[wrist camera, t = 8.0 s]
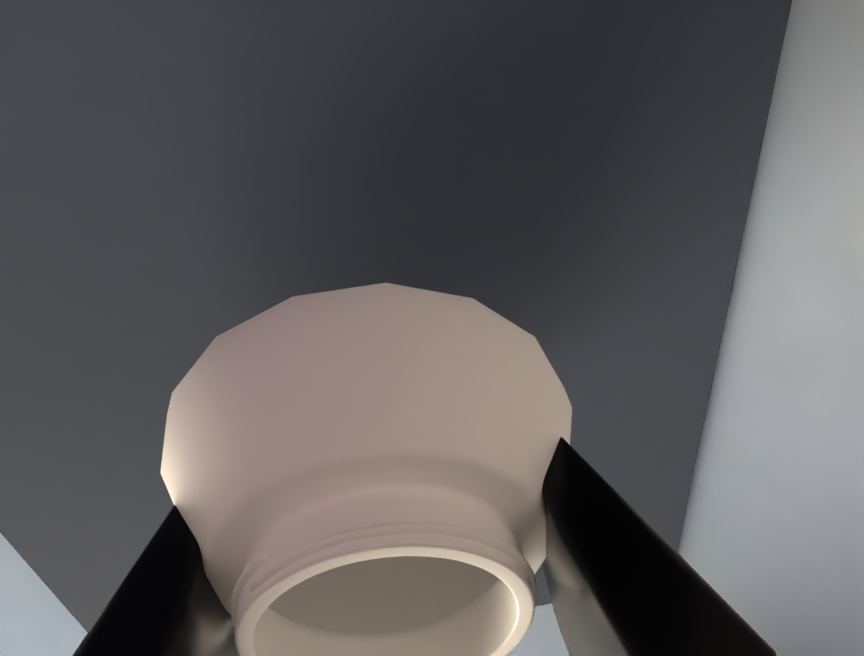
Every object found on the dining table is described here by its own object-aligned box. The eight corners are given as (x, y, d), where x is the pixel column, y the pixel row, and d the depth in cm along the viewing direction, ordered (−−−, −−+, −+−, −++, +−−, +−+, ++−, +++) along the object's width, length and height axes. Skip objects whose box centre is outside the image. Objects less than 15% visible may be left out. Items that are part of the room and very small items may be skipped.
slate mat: (668, 576, 16) (670, 581, 16) (130, 675, 15) (129, 680, 15) (894, -537, 5) (905, -542, 5) (-731, -325, 5) (-751, -325, 5)
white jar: (628, 380, 10) (320, 182, 7) (728, 575, 7) (324, 383, 5) (401, 566, 12) (104, 462, 9) (422, 763, 9) (34, 694, 7)
